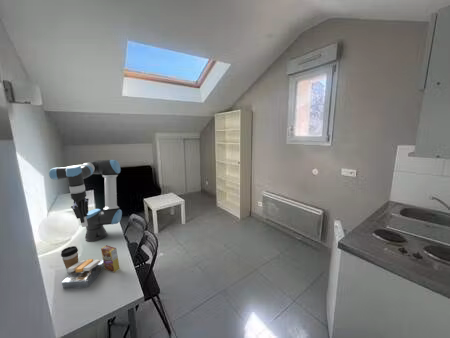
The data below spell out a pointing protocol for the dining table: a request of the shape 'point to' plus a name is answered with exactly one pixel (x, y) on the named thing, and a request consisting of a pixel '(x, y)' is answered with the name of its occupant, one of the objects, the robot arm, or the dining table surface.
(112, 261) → the candy box
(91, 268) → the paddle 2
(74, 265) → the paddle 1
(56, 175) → the robot arm
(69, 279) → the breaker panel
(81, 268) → the long orange bar
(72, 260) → the coffee cup
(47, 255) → the dining table surface
